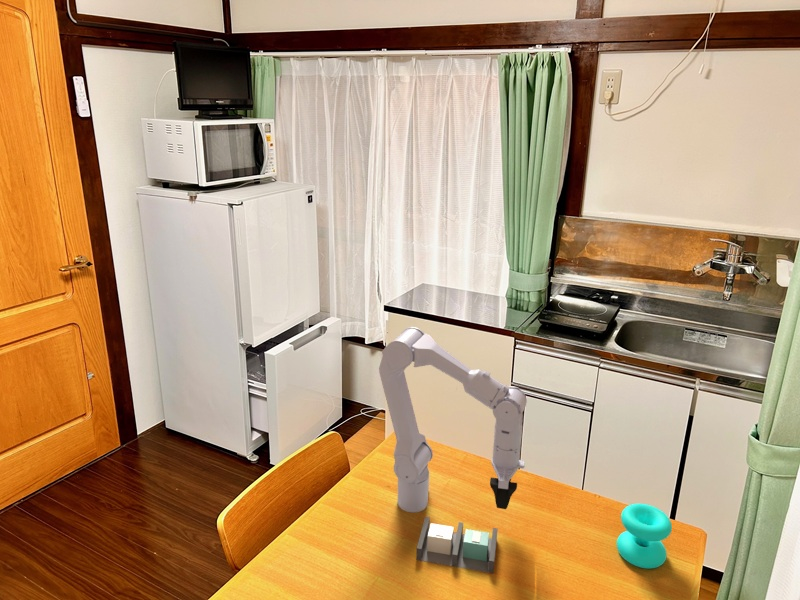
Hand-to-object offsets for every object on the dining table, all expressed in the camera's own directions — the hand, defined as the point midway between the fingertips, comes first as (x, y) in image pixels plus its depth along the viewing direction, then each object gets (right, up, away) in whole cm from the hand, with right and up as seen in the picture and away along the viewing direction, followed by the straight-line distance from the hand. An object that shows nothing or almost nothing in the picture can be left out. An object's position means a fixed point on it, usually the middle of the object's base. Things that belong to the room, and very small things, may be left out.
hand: (502, 496), depth 132 cm
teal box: (-7, -10, -5) cm, 13 cm away
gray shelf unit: (-10, -11, -3) cm, 16 cm away
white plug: (-14, -10, -3) cm, 17 cm away
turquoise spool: (+29, -12, -3) cm, 32 cm away
